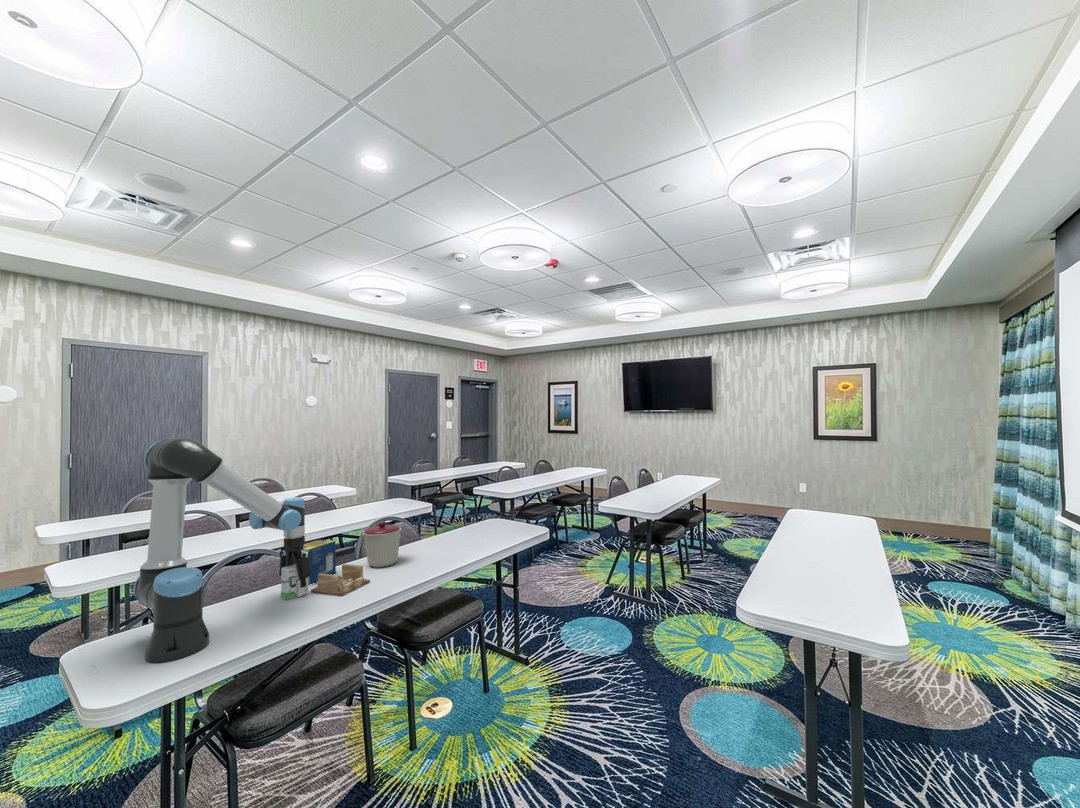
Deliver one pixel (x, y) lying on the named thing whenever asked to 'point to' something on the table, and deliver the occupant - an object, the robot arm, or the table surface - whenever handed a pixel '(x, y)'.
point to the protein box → (320, 558)
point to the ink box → (290, 582)
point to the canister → (382, 544)
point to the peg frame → (341, 581)
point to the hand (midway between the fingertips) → (294, 594)
